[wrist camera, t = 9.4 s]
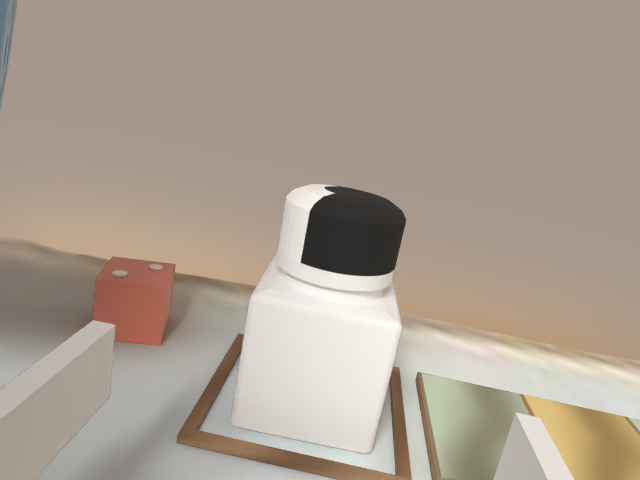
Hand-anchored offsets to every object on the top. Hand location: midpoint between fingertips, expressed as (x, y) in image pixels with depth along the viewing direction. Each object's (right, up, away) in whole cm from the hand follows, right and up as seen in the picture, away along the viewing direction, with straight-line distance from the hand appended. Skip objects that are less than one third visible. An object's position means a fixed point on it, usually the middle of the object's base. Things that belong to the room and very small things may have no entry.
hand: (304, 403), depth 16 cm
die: (-12, 0, +16) cm, 20 cm away
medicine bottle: (0, -4, +12) cm, 12 cm away
